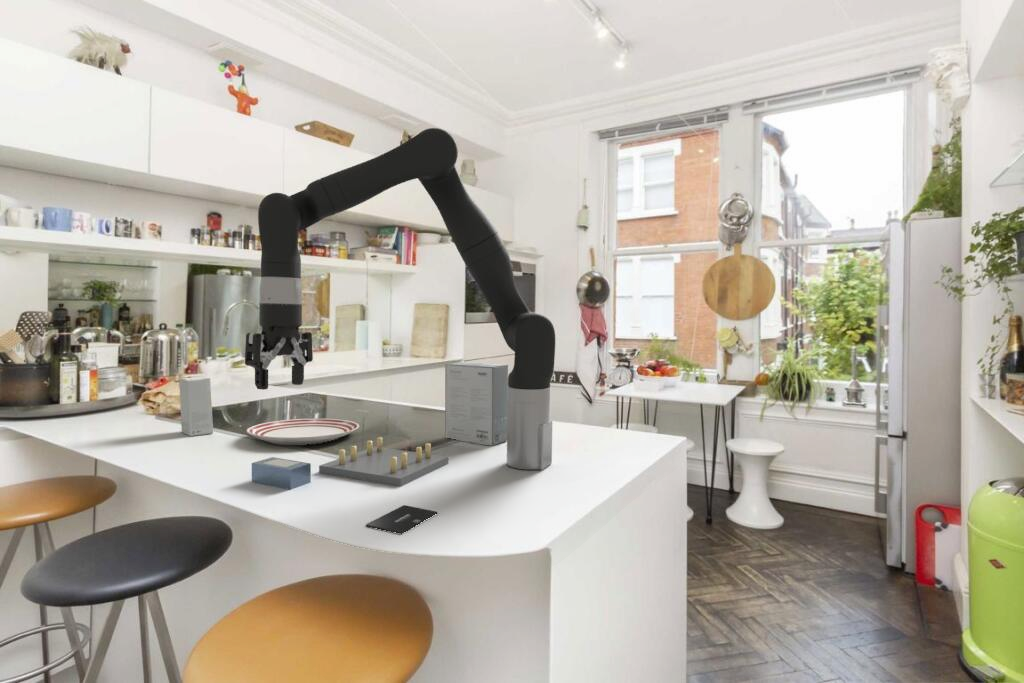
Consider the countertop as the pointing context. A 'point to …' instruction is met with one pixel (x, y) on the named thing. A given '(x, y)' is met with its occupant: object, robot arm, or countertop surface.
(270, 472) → the blue block
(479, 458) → the countertop surface
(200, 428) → the skincare box
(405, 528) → the solid state drive
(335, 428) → the dinner plate
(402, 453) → the grey peg board
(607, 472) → the countertop surface
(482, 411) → the hard drive box
